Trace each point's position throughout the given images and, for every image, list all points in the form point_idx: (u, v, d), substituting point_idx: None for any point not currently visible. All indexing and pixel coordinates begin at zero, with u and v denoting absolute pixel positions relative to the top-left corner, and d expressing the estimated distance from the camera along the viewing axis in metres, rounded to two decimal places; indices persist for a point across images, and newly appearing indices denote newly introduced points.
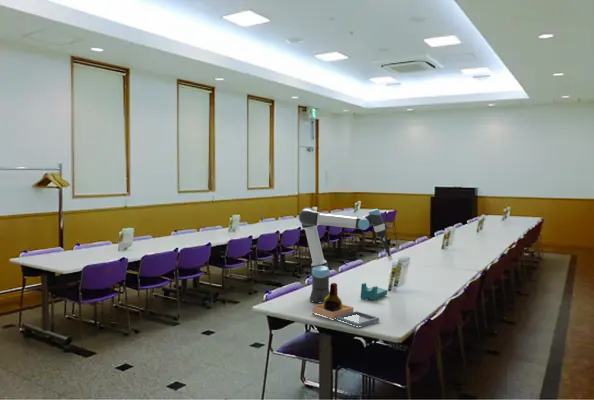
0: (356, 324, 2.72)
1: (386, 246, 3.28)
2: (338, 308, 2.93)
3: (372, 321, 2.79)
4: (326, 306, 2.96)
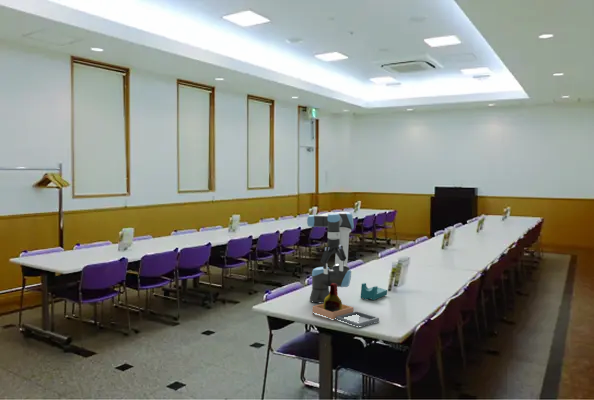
0: (356, 324, 2.72)
1: (323, 257, 2.90)
2: (338, 308, 2.93)
3: (372, 321, 2.79)
4: (326, 306, 2.96)
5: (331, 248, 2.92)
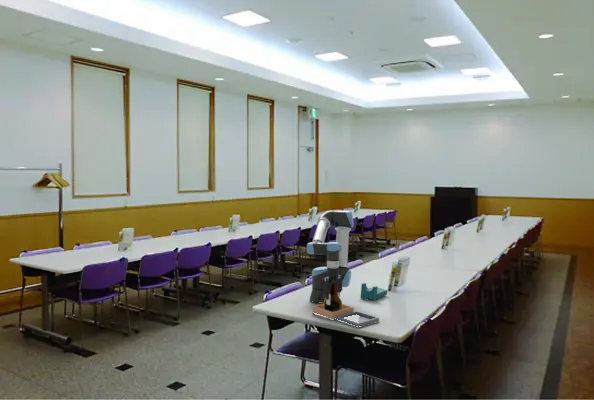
0: (356, 324, 2.72)
1: (324, 288, 2.92)
2: (338, 308, 2.93)
3: (372, 321, 2.79)
4: (326, 306, 2.96)
5: (330, 277, 2.93)
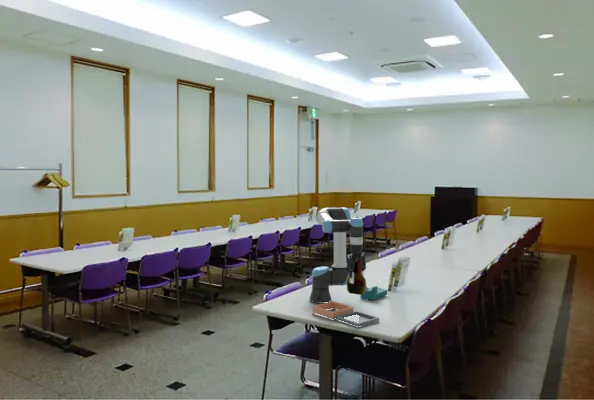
0: (356, 324, 2.72)
1: (348, 265, 2.78)
2: (362, 286, 2.80)
3: (372, 321, 2.79)
4: (349, 285, 2.83)
5: (354, 254, 2.80)
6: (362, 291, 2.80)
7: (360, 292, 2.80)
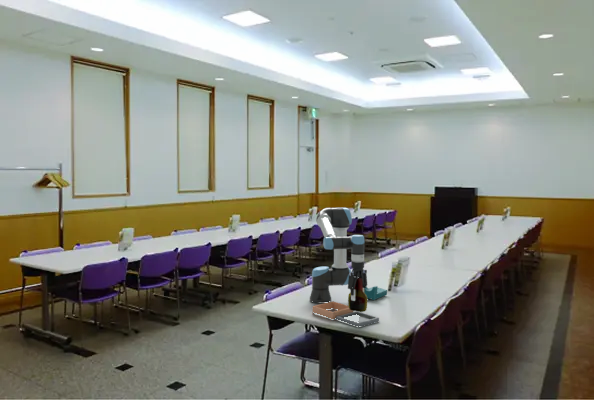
0: (356, 324, 2.72)
1: (349, 283, 2.78)
2: (363, 304, 2.80)
3: (372, 321, 2.79)
4: (351, 302, 2.83)
5: (355, 271, 2.80)
6: (363, 308, 2.80)
7: (361, 309, 2.80)
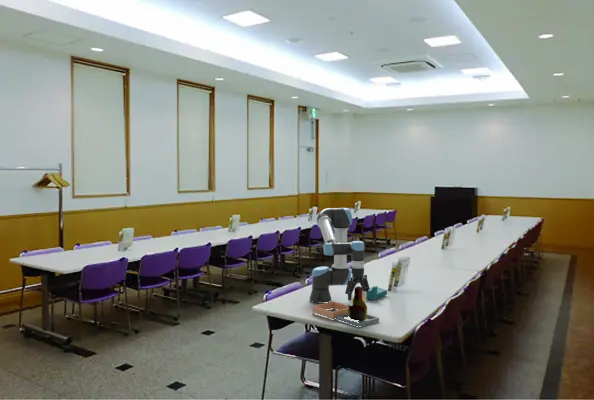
0: (356, 324, 2.72)
1: (347, 288, 2.78)
2: (363, 313, 2.80)
3: (372, 321, 2.79)
4: (350, 311, 2.83)
5: (355, 278, 2.80)
6: (363, 317, 2.80)
7: (361, 318, 2.81)
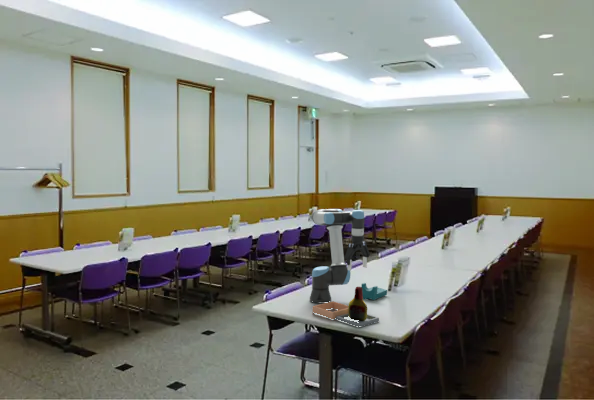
0: (356, 324, 2.72)
1: (347, 253, 2.91)
2: (363, 313, 2.80)
3: (372, 321, 2.79)
4: (351, 311, 2.83)
5: (355, 245, 2.93)
6: (363, 317, 2.80)
7: (361, 318, 2.81)
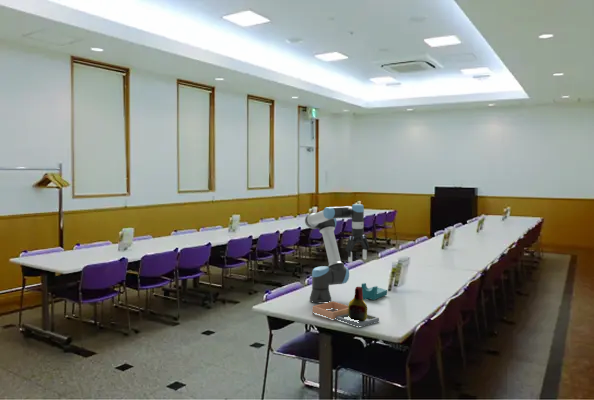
0: (356, 324, 2.72)
1: (348, 245, 3.02)
2: (363, 313, 2.80)
3: (372, 321, 2.79)
4: (351, 311, 2.83)
5: (355, 237, 3.05)
6: (363, 317, 2.80)
7: (361, 318, 2.81)
